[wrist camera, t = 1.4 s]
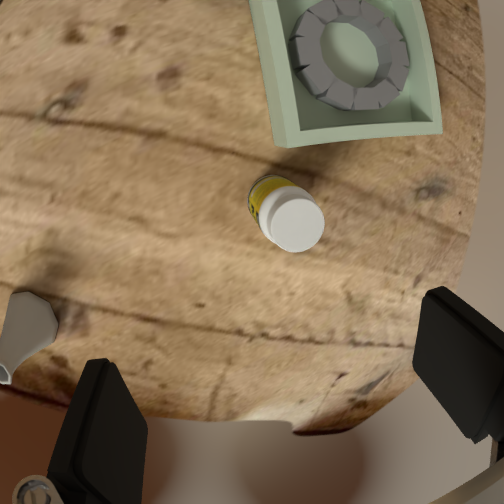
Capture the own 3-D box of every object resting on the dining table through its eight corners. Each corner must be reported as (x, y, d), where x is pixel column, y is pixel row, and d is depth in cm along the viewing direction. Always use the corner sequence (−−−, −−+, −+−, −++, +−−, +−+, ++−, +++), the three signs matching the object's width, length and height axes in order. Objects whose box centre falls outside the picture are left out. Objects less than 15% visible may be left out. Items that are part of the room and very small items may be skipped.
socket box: (246, -12, 22) (254, -32, 18) (391, -5, 23) (415, -16, 19) (274, 145, 28) (287, 148, 24) (416, 130, 29) (442, 133, 25)
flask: (56, 295, 30) (20, 351, 21) (62, 347, 32) (36, 406, 23) (5, 284, 28) (-39, 332, 19) (13, 335, 30) (-19, 388, 21)
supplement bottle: (236, 198, 29) (250, 225, 22) (273, 163, 29) (302, 177, 21) (269, 233, 31) (294, 270, 23) (306, 200, 30) (342, 226, 23)
